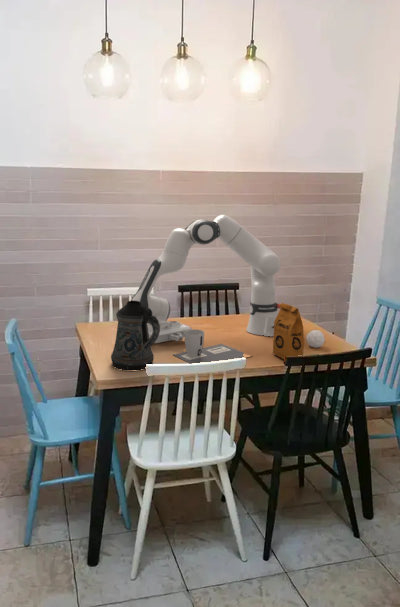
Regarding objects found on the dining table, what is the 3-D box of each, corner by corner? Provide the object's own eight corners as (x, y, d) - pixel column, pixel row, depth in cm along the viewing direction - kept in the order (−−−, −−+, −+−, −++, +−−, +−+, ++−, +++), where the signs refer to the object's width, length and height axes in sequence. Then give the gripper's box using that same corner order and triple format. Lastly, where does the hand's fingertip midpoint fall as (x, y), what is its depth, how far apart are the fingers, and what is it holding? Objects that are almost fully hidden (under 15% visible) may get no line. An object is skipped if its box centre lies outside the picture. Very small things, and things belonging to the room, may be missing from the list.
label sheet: (221, 344, 237) (221, 343, 237) (252, 356, 222) (252, 356, 222) (172, 355, 222) (172, 354, 222) (202, 369, 207) (202, 368, 206)
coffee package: (285, 364, 214) (288, 310, 209) (269, 354, 225) (271, 303, 220) (306, 361, 218) (310, 308, 213) (289, 351, 229) (292, 301, 224)
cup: (201, 359, 216) (202, 335, 214) (182, 358, 218) (182, 334, 216) (205, 353, 224) (206, 330, 222) (186, 351, 226) (186, 328, 223)
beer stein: (115, 356, 219) (114, 296, 213) (163, 357, 218) (163, 297, 213) (107, 371, 203) (105, 306, 197) (158, 372, 202) (159, 307, 196)
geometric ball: (319, 353, 236) (331, 341, 233) (307, 349, 232) (319, 337, 228) (312, 340, 242) (323, 328, 238) (299, 336, 237) (311, 324, 233)
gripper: (141, 327, 231) (159, 335, 221) (180, 320, 243) (199, 327, 233) (141, 341, 233) (159, 350, 222) (180, 334, 245) (199, 341, 234)
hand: (180, 338), depth 228 cm, fingers closed
